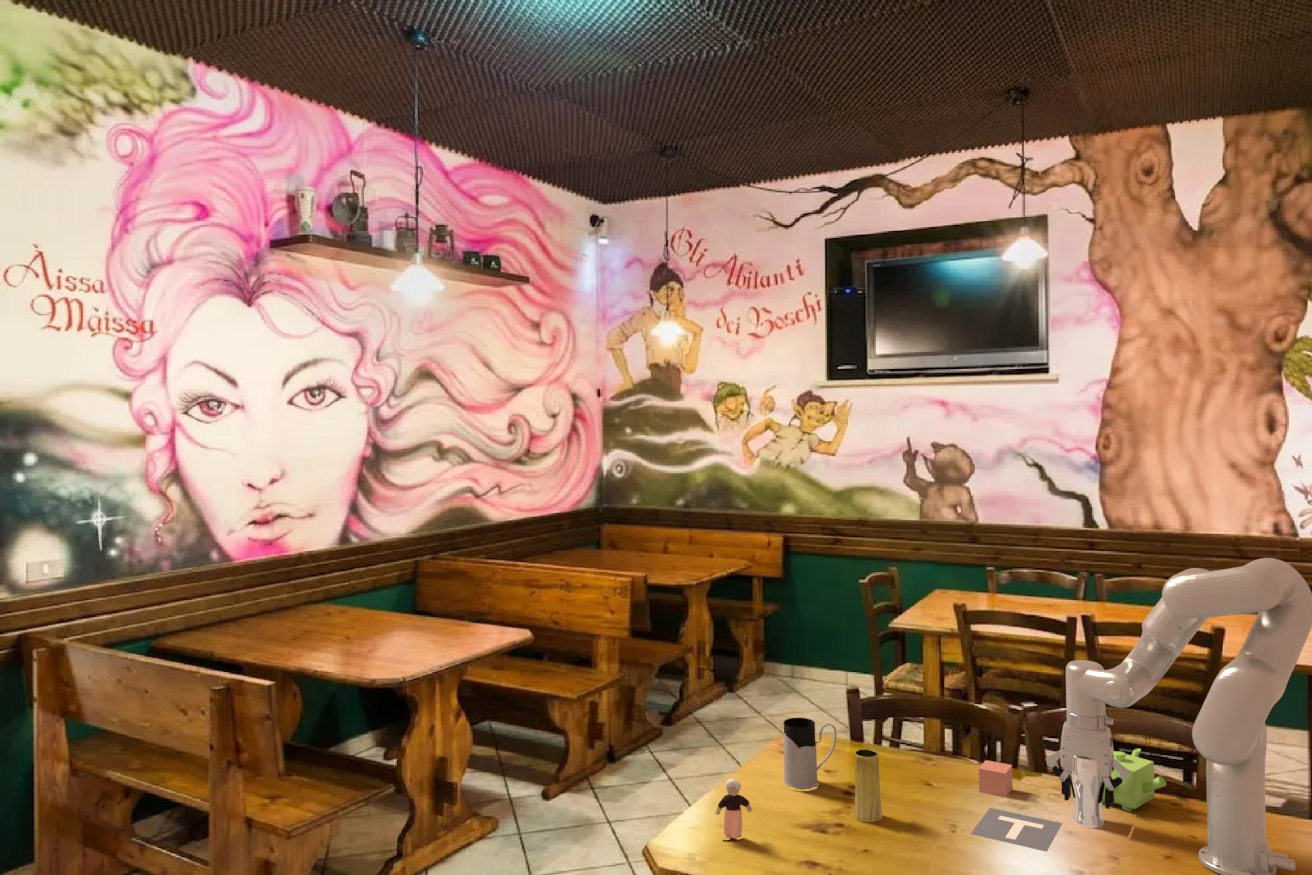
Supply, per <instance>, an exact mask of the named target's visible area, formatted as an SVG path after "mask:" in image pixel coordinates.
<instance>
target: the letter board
mask: <svg viewBox="0 0 1312 875" xmlns="http://www.w3.org/2000/svg"><path fill="white" fill-rule="evenodd" d="M1062 824H1063V823H1062V822H1058V821H1054V820H1049V819H1044V818H1040V817H1034V816H1030V815H1025V814H1021V813H1016V812H1011V811H1008V810H1003V809H998V808H994V807H989V808H988V809H987V811H986V813H984V815H983V816H982V818H981V819H980V820H979V821H978V823H977V824H976V826H975V827H974V828H973V829H972V831H971V832H970V835H973V836H978V837H982V838H986V839H992V840H995V841H999V842H1004V843H1007V844H1011V845H1016V846H1021V847H1024V848H1030V849H1034V850H1038V851H1042V852H1048V850H1049V848H1050V846H1051V845H1052V842H1053V840H1054V838H1055V837H1056V836H1057V834H1058V831H1059V830H1060V828H1061V827H1062Z"/></svg>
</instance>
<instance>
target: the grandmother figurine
mask: <svg viewBox="0 0 1312 875" xmlns="http://www.w3.org/2000/svg"><path fill="white" fill-rule="evenodd" d="M725 789H726V791H727V794H726V795H724V796H723V797H722V798H721V800H720V801H719V803H718V804H717V806H716V810H715V812H714V813H715V815H721V811H722V810H723V808H725V810H724V816H723V817H724V818H723V836H724V837H725V838H730V837H731V838H733V839H734V838H739V837H741V836H743V835H742V833H743V817H742V816H743V815H742V814H743V813H742V808H741V806H742V807H744V808H746V811H747V812H750V813H751V812H752V811H753V809H752V807H751V804H750V801H749V800H748V799H747V798H746V797H744V796H743V795H741V794H739V792H740V790H741V789H742V785H741V783H740V781H739V780H738V779H736V778H734V777H733V778H729V779H728V780H726V782H725ZM724 834H725V835H724Z"/></svg>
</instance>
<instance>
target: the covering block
mask: <svg viewBox="0 0 1312 875" xmlns="http://www.w3.org/2000/svg"><path fill="white" fill-rule="evenodd" d="M1013 788H1014V787H1013V764H1009V763H1003V762H997V761H992V760H986V759H984V761H983V763H982V764H981V765H980V766H979V768H978V789H979V791H978V793H983V794H987V795H992V796H997V797H1003V798H1007V797H1008V796H1009V794H1010V793H1011V791H1013Z"/></svg>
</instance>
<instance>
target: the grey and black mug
mask: <svg viewBox="0 0 1312 875" xmlns="http://www.w3.org/2000/svg"><path fill="white" fill-rule="evenodd" d="M827 726H832V728H833V732H834V733H833V741H832V745H831V748H830V750H829V752H828V754H826V756H825V757H823V758H824V759H823V760H822V761H821V762H820V763H819V764H817V744H819V743H820V742H821V741H822V734H823V730H824V729H825V728H826V727H827ZM818 733H819V734H818V740H816V723H815V721H814V720H813V719H810V718H805V717H790V718H787V719H785V720H784V721H783V739H782V740H783V741H782V742H783V768H784V769H783V772H784V774H783V775H784V778H783V781H784V783H785V784H786V785H787V786H788V787H793V788H796V789H801V790H803V789H804V790H805V789H811V788H813V787H817V786H818V783H819V781H818V770H819V769H820V768H821V767H822V765H823V764H824V763H826V761H827V760H828V758H829V757H830V756H831V755H832V753H833V751H834V749H835V746H836V741H837V730H836V726H835V725H834V724H832V723H824V724H823V725H822V726H821V727H820V729H819V732H818ZM819 784H820V783H819Z"/></svg>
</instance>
